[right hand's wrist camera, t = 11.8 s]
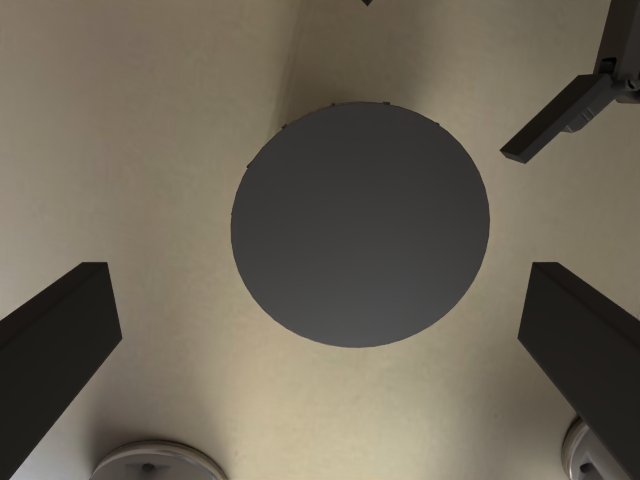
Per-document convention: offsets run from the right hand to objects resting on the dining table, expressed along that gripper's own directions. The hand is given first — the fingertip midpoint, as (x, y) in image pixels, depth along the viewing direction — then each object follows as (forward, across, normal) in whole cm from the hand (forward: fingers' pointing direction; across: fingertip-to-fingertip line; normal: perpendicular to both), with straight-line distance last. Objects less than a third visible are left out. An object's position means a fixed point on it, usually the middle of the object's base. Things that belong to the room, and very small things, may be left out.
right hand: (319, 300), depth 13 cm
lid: (+6, +2, 0) cm, 6 cm away
